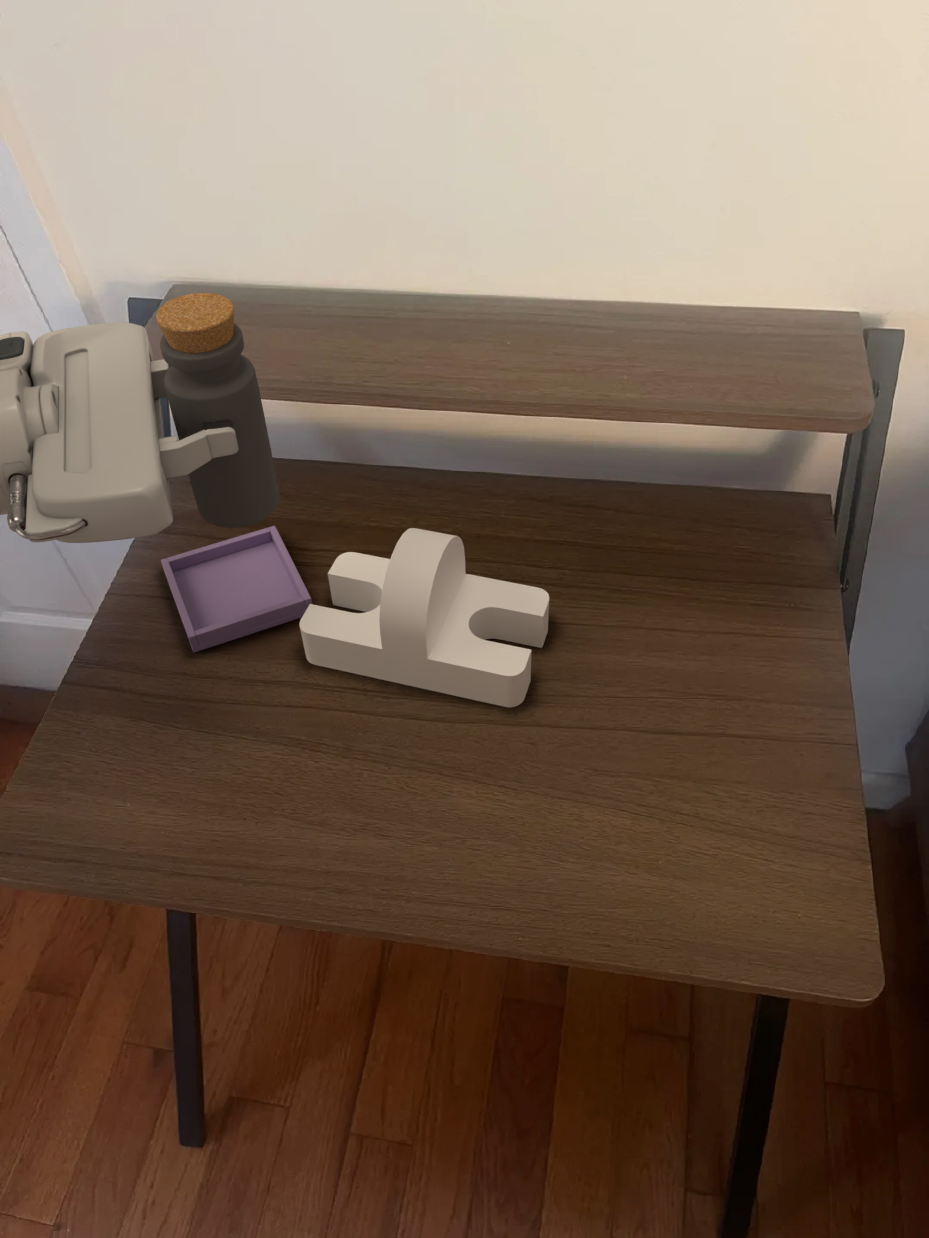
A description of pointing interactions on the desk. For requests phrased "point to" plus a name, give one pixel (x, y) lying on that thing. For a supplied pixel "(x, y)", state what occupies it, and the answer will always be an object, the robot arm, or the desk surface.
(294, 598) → the tray
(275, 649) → the desk surface
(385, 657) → the white slotted bracket
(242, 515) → the bottle
